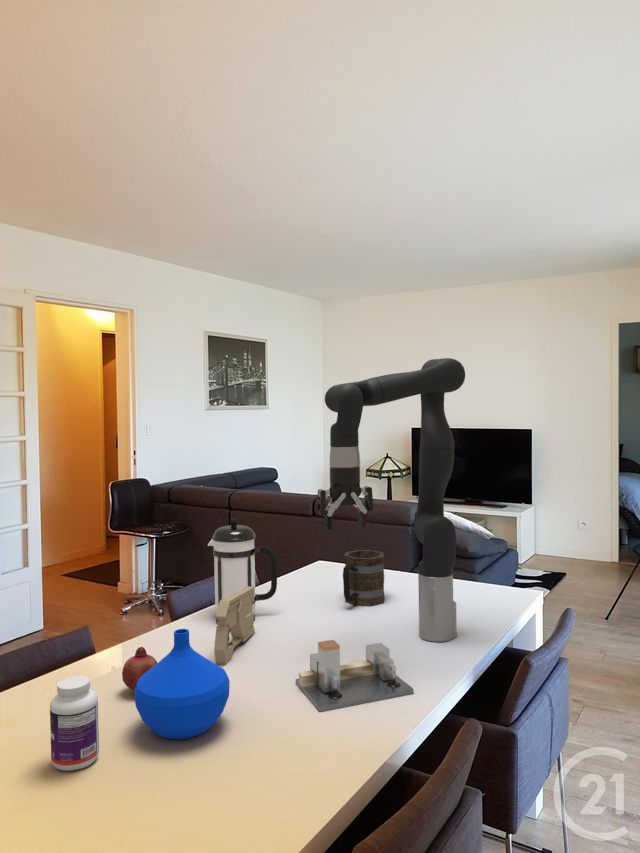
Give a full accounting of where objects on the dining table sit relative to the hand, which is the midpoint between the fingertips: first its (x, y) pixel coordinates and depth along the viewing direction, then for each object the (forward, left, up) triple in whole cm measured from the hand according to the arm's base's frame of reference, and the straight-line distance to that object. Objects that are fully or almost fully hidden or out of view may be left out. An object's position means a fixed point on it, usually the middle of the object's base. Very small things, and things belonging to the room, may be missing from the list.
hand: (345, 529), depth 162 cm
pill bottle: (+64, +25, -32) cm, 76 cm away
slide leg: (+12, +16, -31) cm, 37 cm away
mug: (-22, -40, -32) cm, 56 cm away
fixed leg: (-2, +16, -31) cm, 35 cm away
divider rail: (+6, +13, -31) cm, 34 cm away
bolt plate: (+6, +17, -32) cm, 37 cm away
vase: (+44, +20, -32) cm, 58 cm away
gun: (+24, -18, -32) cm, 44 cm away
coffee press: (+17, -42, -32) cm, 56 cm away
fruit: (+50, 0, -32) cm, 60 cm away
